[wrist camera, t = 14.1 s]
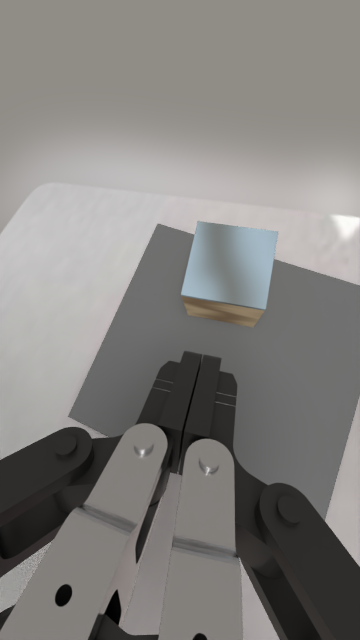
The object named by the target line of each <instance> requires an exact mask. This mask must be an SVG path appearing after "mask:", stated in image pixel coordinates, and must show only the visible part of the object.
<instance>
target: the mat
mask: <svg viewBox="0 0 360 640" xmlns="http://www.w3.org/2000/svg"><path fill="white" fill-rule="evenodd" d="M193 240H194V234H190V233H187V232H184V231H181V230H177V229H174V228H171V227H168V226H164V225H161V224H157V226H156V228H155V231H154V233H153V235H152V237H151V239H150V241H149V244H148V246H147V248H146V250H145V252H144V254H143V256H142V259H141V261H140V263H139V265H138V267H137V269H136V272H135V274H134V276H133V278H132V280H131V282H130V284H129V287H128V289H127V291H126V293H125V295H124V297H123V300H122V302H121V304H120V306H119V308H118V310H117V312H116V315H115V317H114V319H113V321H112V323H111V325H110V328H109V330H108V332H107V334H106V336H105V338H104V340H103V343H102V345H101V347H100V349H99V351H98V353H97V356H96V358H95V360H94V362H93V364H92V366H91V368H90V371H89V373H88V375H87V377H86V379H85V381H84V383H83V386H82V388H81V390H80V392H79V394H78V396H77V399H76V401H75V403H74V405H73V407H72V409H71V411H70V414H69V416H68V417H70V418H72V419H74V420H76V421H78V422H80V423H82V424H84V425H86V426H88V427H90V428H92V429H94V430H96V431H98V432H100V433H102V434H104V435H106V436H108V437H116V436H120V435H122V434H124V433H125V432H126V431H127V430H128V429H130V428H131V427H133V426H134V425H135V424H136V422H137V420H138V418H139V416H140V413H141V411H142V409H143V407H144V404H145V402H146V400H147V397H148V395H149V393H150V390H151V389H152V386H153V384H154V381H155V380H156V377H157V374H158V372H159V370H160V368H161V367H162V366H163V365H164V364H166V363H167V362H168V361H174V362H179V363H180V361H181V358H182V355H183V353H184V351H190V352H194V353H199V354H202V359H203V355H204V354H205V355H210V356H215V357H219V358H222V359H221V365H220V371H222V372H227V373H231V374H233V375H234V378H235V380H236V382H237V397H236V398H237V399H236V412H235V426H234V439H233V449H234V453H235V456H236V458H237V460H238V462H239V463H240V465H241V466H242V467H243V468H244V469H245V470H246V471H247V472H248V473H250V474H251V475H252V476H254V477H256V478H257V479H259V480H260V481H262V482H264V483H265V484H267V485H270V484H273V483H285V484H288V485H291V486H293V487H295V488H296V489H298V490H299V491H300V492H301V493H302V494H304V495H305V497H306V498H307V499H308V500H309V501H310V503H311V504H312V505H313V507H314V508H315V509H316V511H317V512H318V513H319V514H320V516H321V517H322V518H323V520H324V521H325V518H326V514H327V510H328V507H329V503H330V500H331V496H332V493H333V489H334V485H335V482H336V478H337V475H338V471H339V467H340V464H341V460H342V457H343V453H344V450H345V446H346V442H347V439H348V435H349V432H350V428H351V424H352V421H353V417H354V414H355V410H356V406H357V403H358V399H359V396H360V286H359V285H356V284H353V283H349V282H346V281H343V280H340V279H336V278H333V277H330V276H327V275H323V274H320V273H317V272H314V271H310V270H307V269H304V268H301V267H297V266H294V265H291V264H288V263H284V262H281V261H278V260H275V259H274V261H273V267H272V273H271V279H270V286H269V292H268V298H267V304H266V310H265V311H264V313H263V314H262V315H261V317H260V318H259V320H258V321H257V323H256V324H255V325H254V327H249V326H243V325H238V324H233V323H227V322H222V321H217V320H211V319H206V318H201V317H195V316H190V315H188V313H187V310H186V308H185V305H184V302H183V299H182V296H181V292H182V287H183V283H184V279H185V274H186V270H187V266H188V261H189V257H190V253H191V248H192V244H193ZM201 363H202V361H201ZM180 461H181V459H180ZM179 469H180V463H179V467H178V471H179Z"/></svg>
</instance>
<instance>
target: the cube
mask: <svg viewBox="0 0 360 640" xmlns="http://www.w3.org/2000/svg"><path fill="white" fill-rule="evenodd" d="M277 236H278V232H277V231H269V230H262V229H254V228H246V227H238V226H230V225H223V224H215V223H207V222H199V221H198V222H197V227H196V231H195V235H194V240H193V244H192V248H191V253H190V257H189V261H188V266H187V270H186V274H185V279H184V283H183V287H182V292H181V296H182V299H183V302H184V305H185V308H186V310H187V313H188V315H190V316H195V317H201V318H206V319H211V320H217V321H222V322H227V323H233V324H238V325H243V326H249V327H254V325H255V324H256V323H257V321H258V320H259V318H260V317H261V315H262V314H263V313H264V311H265V310H266V304H267V298H268V292H269V286H270V279H271V273H272V267H273V261H274V255H275V248H276V242H277Z"/></svg>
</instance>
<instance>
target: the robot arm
mask: <svg viewBox="0 0 360 640" xmlns="http://www.w3.org/2000/svg"><path fill="white" fill-rule="evenodd" d="M221 359H222V358H219V357H215V356H210V355H205V354H204V355H203V359H202V354H199V353H194V352H190V351H184V353H183V355H182V358H181V361H180V363H179V362H174V361H168V362H167V363H166V364H164V365H163V366H162V367H161V368H160V370H159V372H158V374H157V377H156V380H155V381H154V384H153V386H152V389H151V390H150V393H149V395H148V397H147V400H146V402H145V404H144V407H143V409H142V411H141V413H140V416H139V418H138V420H137V422H136V424H135V425H134V426H133V427H131V428H130V429H128V430H127V431H126V432H125V433H124V434H122V435H120V436H116V437H110V438H95V439H91V436H90V435H89V433H88V432H87V431H86V430H84V429H82V428H79V427H68V428H64V429H61V430H59V431H57V432H55V433H53V434H51V435H49V436H47V437H45V438H43V439H41V440H39V441H37V442H35V443H33V444H31V445H29V446H27V447H25V448H23V449H21V450H19V451H17V452H15V453H13V454H11V455H9V456H7V457H5V458H3V459H1V460H0V577H2V576H3V575H5V574H6V573H7V572H9V571H10V570H12V569H13V568H14V567H16V566H17V565H19V564H20V563H21V562H23V561H24V560H25V559H27V558H28V557H30V556H31V555H32V554H34V553H35V552H37V551H38V550H39V549H41V548H42V547H44V546H45V545H46V544H48V543H49V542H51V541H52V540H53V539H54V540H53V542H52V544H51V545H50V547H49V549H48V550H47V552H46V554H45V556H44V557H43V559H42V561H41V562H40V564H39V566H38V567H37V569H36V571H35V573H34V574H33V576H32V578H31V579H30V581H29V583H28V585H27V586H26V588H25V590H24V591H23V593H22V595H21V596H20V598H19V600H18V602H17V603H16V604H15V605H13V606H12V607H10V608H8V609H6V610H4V611H3V612H1V613H0V640H243V627H242V588H241V569H240V561H239V558H240V559H241V562H242V564H243V566H244V568H245V570H246V572H247V574H248V576H249V578H250V580H251V582H252V584H253V587H254V589H255V591H256V593H257V595H258V597H259V599H260V601H261V603H262V605H263V607H264V609H265V611H266V613H267V615H268V617H269V619H270V621H271V623H272V625H273V627H274V629H275V631H276V633H277V635H278V637H279V639H280V640H360V567H359V566H358V564H357V563H356V562H355V560H354V559H353V558H352V556H351V555H350V554H349V552H348V551H347V550H346V549H345V547H344V546H343V545H342V543H341V542H340V541H339V539H338V538H337V537H336V535H335V534H334V533H333V531H332V530H331V529H330V528H329V526H328V525H327V524H326V522H325V521H324V520H323V518H322V517H321V516H320V514H319V513H318V512H317V511H316V509H315V508H314V507H313V505H312V504H311V503H310V501H309V500H308V499H307V498H306V497H305V495H304V494H302V493H301V492H300V491H299V490H298V489H296V488H295V487H293V486H291V485H288V484H285V483H273V484H270V485H267V484H265V483H264V482H262V481H260V480H259V479H257V478H256V477H254V476H252V475H251V474H250V473H248V472H247V471H246V470H245V469H244V468H243V467H242V466H241V465H240V463H239V462H238V460H237V458H236V456H235V453H234V449H233V439H234V426H235V412H236V399H237V398H236V397H237V382H236V380H235V378H234V375H233V374H231V373H227V372H222V371H220V365H221ZM201 361H202V363H201ZM180 459H181V461H180ZM179 463H180V469H179V474H180V475H182V482H181V488H180V495H179V502H178V509H177V516H176V523H175V529H174V536H173V543H172V549H171V556H170V563H169V570H168V576H167V583H166V590H165V597H164V604H163V610H162V617H161V624H160V631H159V635H130V634H127V633H126V632H125V631H123V630H122V629H121V627H122V624H123V622H124V619H125V616H126V613H127V610H128V607H129V604H130V600H131V597H132V594H133V591H134V587H135V583H136V579H137V575H138V571H139V567H140V564H141V560H142V557H143V555H144V552H145V549H146V546H147V543H148V540H149V537H150V534H151V531H152V528H153V525H154V522H155V519H156V516H157V513H158V511H159V508H160V505H161V502H162V499H163V495H164V492H165V490H166V486H167V482H168V479H169V475H170V472H172V473H176V474H177V471H178V467H179Z"/></svg>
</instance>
